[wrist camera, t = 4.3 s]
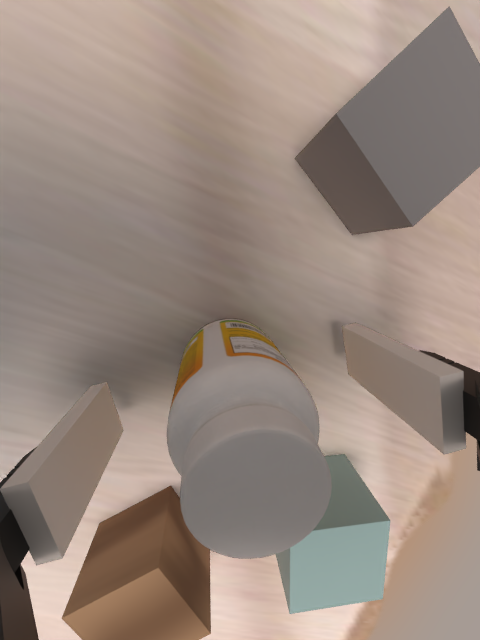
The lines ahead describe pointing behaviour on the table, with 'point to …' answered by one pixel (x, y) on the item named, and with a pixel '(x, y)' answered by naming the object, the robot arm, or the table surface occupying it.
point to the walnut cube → (143, 577)
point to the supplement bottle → (245, 444)
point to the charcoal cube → (402, 135)
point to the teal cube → (339, 548)
